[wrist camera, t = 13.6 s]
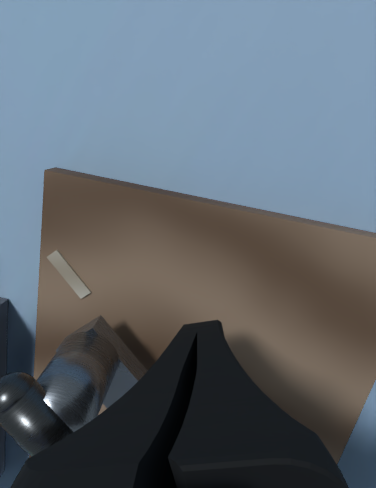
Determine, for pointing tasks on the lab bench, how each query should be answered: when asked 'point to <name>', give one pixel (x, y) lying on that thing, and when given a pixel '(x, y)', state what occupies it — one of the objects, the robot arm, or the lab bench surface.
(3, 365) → the tray
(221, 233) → the crank board
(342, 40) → the lab bench surface
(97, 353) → the crank
